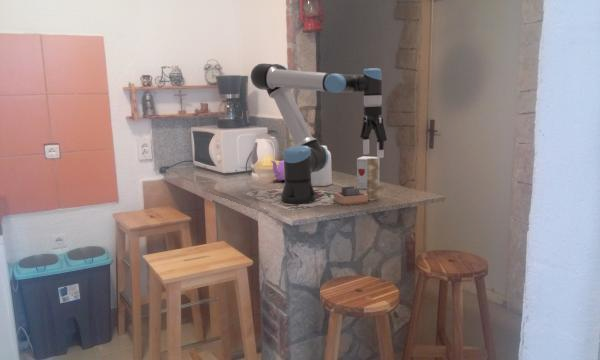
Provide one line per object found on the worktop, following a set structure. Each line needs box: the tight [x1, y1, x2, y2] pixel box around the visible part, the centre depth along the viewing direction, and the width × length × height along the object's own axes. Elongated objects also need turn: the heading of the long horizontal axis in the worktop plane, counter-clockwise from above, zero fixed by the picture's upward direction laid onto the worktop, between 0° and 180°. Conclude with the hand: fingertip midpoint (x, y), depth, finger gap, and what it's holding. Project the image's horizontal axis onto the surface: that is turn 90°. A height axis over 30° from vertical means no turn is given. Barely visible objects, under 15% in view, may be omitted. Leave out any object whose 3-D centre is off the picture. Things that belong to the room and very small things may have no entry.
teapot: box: [271, 160, 285, 182], centre depth 260 cm, size 20×14×12 cm
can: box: [311, 144, 333, 187], centre depth 247 cm, size 12×12×20 cm
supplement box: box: [356, 155, 381, 190], centre depth 236 cm, size 9×9×15 cm
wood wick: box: [366, 158, 379, 202], centre depth 209 cm, size 4×2×18 cm, turn 107°
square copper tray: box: [333, 185, 369, 206], centre depth 207 cm, size 11×11×6 cm
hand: (373, 156), depth 207 cm, fingers open, 13 cm apart
